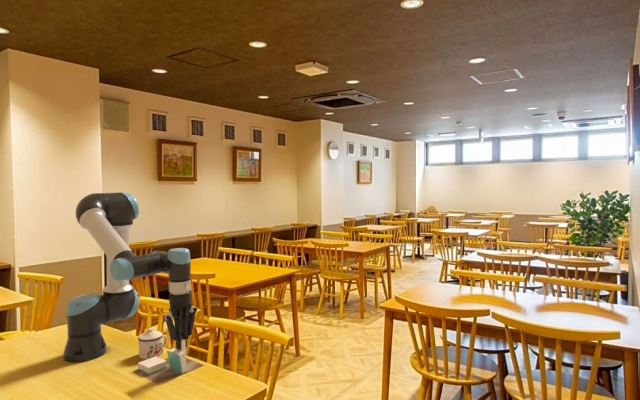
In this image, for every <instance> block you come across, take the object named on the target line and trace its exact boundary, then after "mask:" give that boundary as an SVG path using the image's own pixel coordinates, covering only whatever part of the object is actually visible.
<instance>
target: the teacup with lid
mask: <svg viewBox="0 0 640 400" xmlns="http://www.w3.org/2000/svg"><path fill="white" fill-rule="evenodd" d="M163 339H164V342H163ZM137 340H138V357H139V358H140V359H144V360H147V359H150V358H153V357H155V356H156V357H159V358H160V357H161V356H162V355H163V354H164V352H163V351H164V348H165V347H166V346H167V344H168V337H167V336H166V335H164V334H163V332H161V331H159V330H158V331H157V330H154V329H153V328H152V327H150V328H148V329H147V330H146V331H145V332H143V333H140V334H139V335H138V337H137Z"/></svg>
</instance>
